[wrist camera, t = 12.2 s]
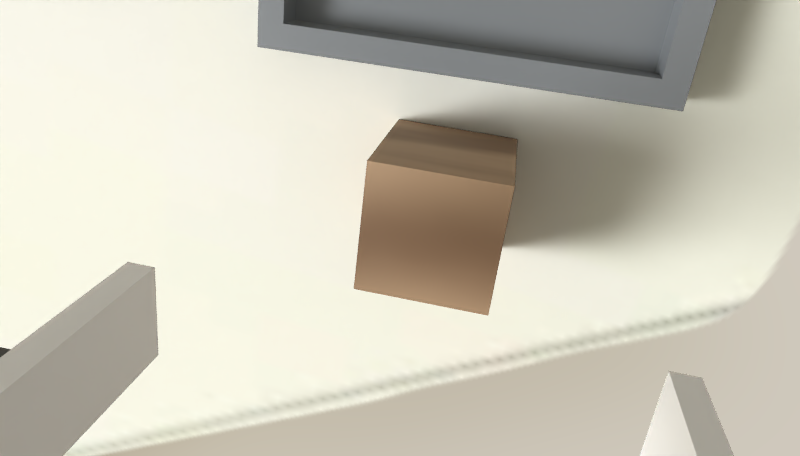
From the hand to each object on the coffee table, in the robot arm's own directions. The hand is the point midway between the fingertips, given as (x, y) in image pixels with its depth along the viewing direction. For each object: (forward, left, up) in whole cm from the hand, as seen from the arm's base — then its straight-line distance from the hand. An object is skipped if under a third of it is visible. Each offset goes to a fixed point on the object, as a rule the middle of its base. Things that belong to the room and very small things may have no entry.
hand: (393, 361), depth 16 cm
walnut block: (0, 0, -13) cm, 13 cm away
